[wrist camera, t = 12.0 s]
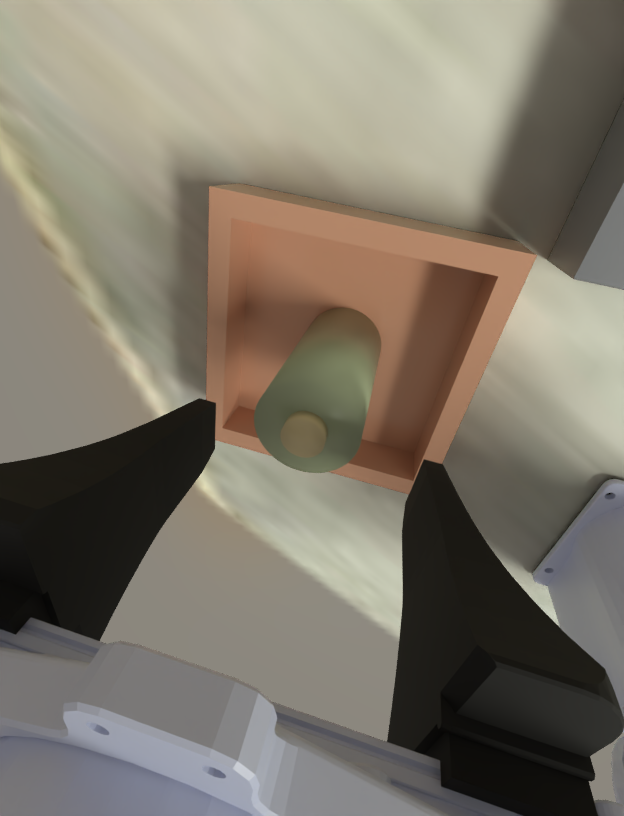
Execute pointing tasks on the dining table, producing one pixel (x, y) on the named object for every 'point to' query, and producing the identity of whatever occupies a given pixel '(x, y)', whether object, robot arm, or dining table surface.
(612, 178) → the frame
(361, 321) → the olive cell
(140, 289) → the dining table surface
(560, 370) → the dining table surface
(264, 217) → the tray
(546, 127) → the dining table surface
